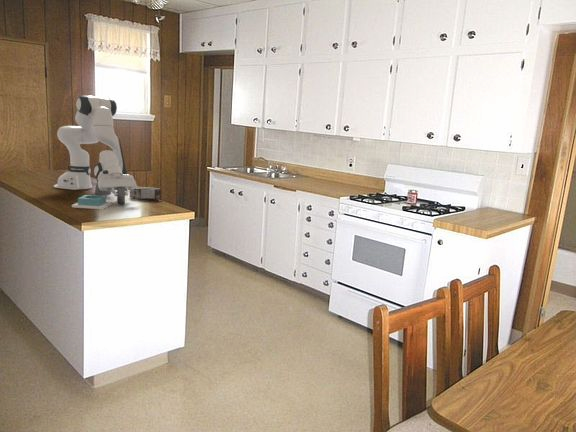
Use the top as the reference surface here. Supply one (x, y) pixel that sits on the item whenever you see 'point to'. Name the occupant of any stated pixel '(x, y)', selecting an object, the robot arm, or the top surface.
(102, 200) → the keeper board
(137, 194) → the coffee box
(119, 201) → the steel pin
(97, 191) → the coffeepot
